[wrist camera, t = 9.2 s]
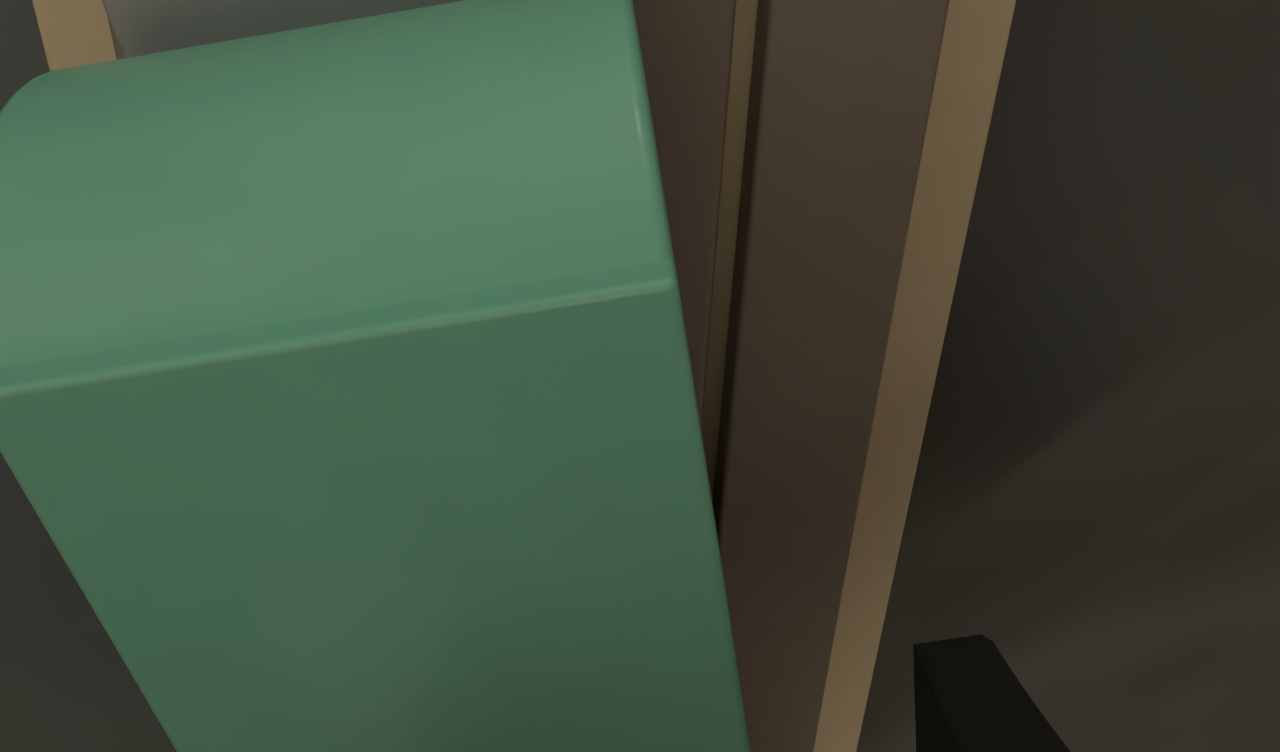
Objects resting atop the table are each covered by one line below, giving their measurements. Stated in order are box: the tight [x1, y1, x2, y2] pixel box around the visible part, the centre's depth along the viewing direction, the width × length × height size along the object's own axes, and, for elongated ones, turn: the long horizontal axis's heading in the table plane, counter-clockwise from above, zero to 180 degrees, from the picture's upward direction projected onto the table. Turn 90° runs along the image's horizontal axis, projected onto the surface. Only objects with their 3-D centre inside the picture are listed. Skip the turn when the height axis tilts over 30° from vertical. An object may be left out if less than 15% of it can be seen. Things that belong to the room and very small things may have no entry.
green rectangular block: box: [0, 0, 751, 752], centre depth 12 cm, size 14×4×5 cm, turn 9°
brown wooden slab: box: [32, 0, 1016, 752], centre depth 15 cm, size 10×20×2 cm, turn 178°
